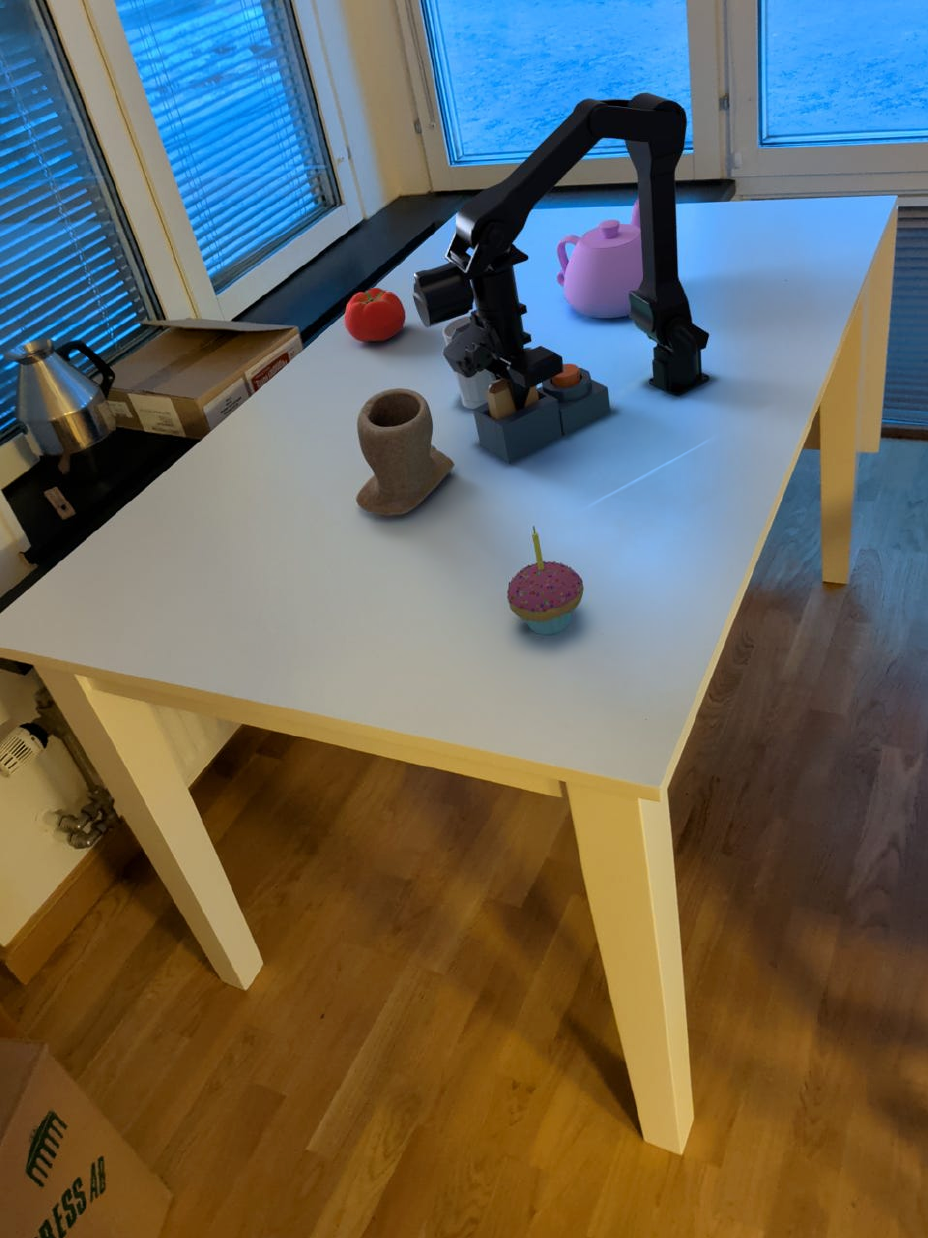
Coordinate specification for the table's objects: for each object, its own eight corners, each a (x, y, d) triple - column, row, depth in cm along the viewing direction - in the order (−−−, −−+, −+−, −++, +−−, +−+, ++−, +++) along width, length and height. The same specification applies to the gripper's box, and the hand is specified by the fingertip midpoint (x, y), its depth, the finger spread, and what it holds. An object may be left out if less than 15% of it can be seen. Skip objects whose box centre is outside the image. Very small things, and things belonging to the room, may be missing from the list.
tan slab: (532, 404, 151) (525, 363, 147) (540, 409, 149) (534, 367, 145) (492, 424, 148) (484, 383, 144) (500, 429, 147) (492, 387, 143)
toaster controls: (576, 395, 158) (572, 359, 155) (610, 412, 153) (606, 375, 149) (531, 418, 156) (526, 381, 152) (564, 436, 150) (559, 399, 146)
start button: (568, 371, 153) (567, 360, 152) (585, 379, 150) (584, 368, 149) (546, 382, 151) (545, 371, 150) (563, 391, 149) (562, 379, 148)
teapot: (707, 273, 182) (704, 192, 174) (655, 331, 170) (649, 246, 161) (593, 266, 194) (585, 190, 185) (536, 320, 181) (524, 240, 172)
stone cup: (416, 530, 139) (390, 431, 129) (347, 513, 145) (318, 417, 136) (478, 469, 148) (459, 372, 138) (411, 455, 154) (388, 362, 144)
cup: (503, 410, 159) (490, 336, 151) (452, 413, 161) (437, 341, 154) (512, 384, 165) (499, 312, 157) (462, 387, 167) (448, 316, 159)
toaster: (532, 419, 155) (526, 382, 152) (562, 436, 150) (557, 398, 146) (480, 445, 152) (472, 409, 149) (509, 464, 147) (502, 426, 143)
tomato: (397, 348, 182) (387, 307, 178) (340, 349, 186) (329, 310, 182) (418, 320, 190) (409, 280, 185) (363, 322, 194) (353, 283, 189)
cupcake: (509, 605, 123) (492, 522, 116) (580, 591, 123) (568, 506, 115) (518, 653, 117) (501, 568, 109) (594, 638, 116) (582, 552, 109)
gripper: (409, 306, 142) (432, 408, 152) (485, 345, 129) (505, 454, 139) (477, 276, 146) (495, 378, 155) (558, 310, 132) (573, 419, 142)
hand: (515, 406), depth 148 cm, fingers closed on tan slab, 2 cm apart
